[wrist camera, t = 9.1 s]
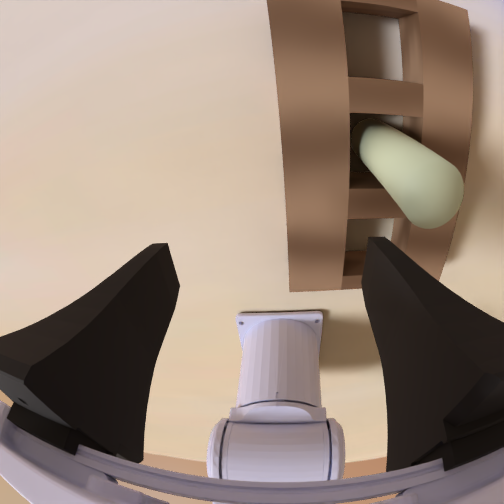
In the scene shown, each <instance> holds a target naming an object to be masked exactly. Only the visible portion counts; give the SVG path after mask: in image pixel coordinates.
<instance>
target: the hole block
mask: <svg viewBox="0 0 504 504" xmlns="http://www.w3.org/2000/svg"><path fill="white" fill-rule="evenodd" d="M267 6H268V13H269V21H270V29H271V37H272V46H273V55H274V64H275V74H276V84H277V94H278V105H279V116H280V128H281V141H282V154H283V168H284V183H285V199H286V217H287V237H288V260H289V289H290V292H303V291H325V290H344V289H360V288H362V285H361V280H362V275H363V269H364V263H365V257H366V251H367V250H364V251H345V245H346V233H347V219H368V218H394V225H393V232H392V238H391V242H392V243H393V244H394V245H396V246H397V247H398V248H399V249H400V250H402V251H403V252H404V253H405V254H406V255H407V256H409V257H410V258H411V259H412V260H413V261H415V262H416V263H417V264H418V265H419V266H420V267H422V268H423V269H424V270H425V271H426V272H428V273H429V274H430V275H431V276H433V277H434V278H435V279H437V280H438V281H439V279H440V276H441V273H442V270H443V267H444V264H445V261H446V257H447V254H448V251H449V247H450V244H451V240H452V236H453V232H454V228H455V224H456V220H457V216H458V212H459V209H458V211H457V213H456V214H455V215H454V216H453V218H452V219H450V220H449V221H448V222H447V223H445V224H444V225H442V226H439V227H437V228H432V229H424V228H420V227H418V226H416V225H414V224H413V223H412V222H410V220H409V219H408V218H407V217H406V215H405V214H404V212H403V211H402V210H401V208H400V207H399V206H398V204H397V203H396V202H395V201H394V199H393V198H392V197H391V195H390V194H389V193H388V192H387V190H386V189H385V188H384V187H383V185H382V184H381V183H380V182H379V180H378V179H377V178H376V177H375V176H374V174H373V173H372V172H350V113H374V114H390V115H402V116H403V133H404V134H406V135H407V136H409V137H411V138H412V139H414V140H416V141H417V142H419V143H421V144H422V145H424V146H425V147H427V148H429V149H430V150H432V151H433V152H435V153H436V154H438V155H439V156H441V157H442V158H444V159H445V160H447V161H448V162H450V163H451V164H452V165H454V166H455V167H456V168H457V169H458V171H459V172H460V174H461V176H462V179H463V183H464V182H465V176H466V169H467V162H468V155H469V147H470V137H471V125H472V108H473V62H472V46H471V35H470V26H469V18H468V11H467V10H466V9H463V8H460V7H457V6H454V5H452V4H449V3H445V2H442V1H439V0H267ZM342 12H350V13H361V14H370V15H377V16H384V17H391V18H396V19H398V20H399V28H400V38H401V51H402V68H403V81H397V80H388V79H378V78H365V77H348V68H347V55H346V44H345V33H344V24H343V16H342Z"/></svg>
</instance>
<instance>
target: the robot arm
mask: <svg viewBox="0 0 504 504" xmlns="http://www.w3.org/2000/svg"><path fill="white" fill-rule="evenodd" d="M361 285H362V290H363V296H364V302H365V307H366V310H367V313H368V317H369V320H370V323H371V327H372V330H373V333H374V337H375V340H376V344H377V347H378V351H379V354H380V359H381V363H382V368H383V376H384V383H385V392H386V404H387V424H388V447H387V466H386V472H385V473H379V474H374V475H368V476H361V477H354V478H346V479H342V478H343V473H344V467H345V440H344V433H343V429H342V427H341V425H340V424H339V423H338V422H337V421H336V420H335V419H334V418H328V419H326V408H325V407H323V408H322V405H321V388H320V373H319V352H320V343H321V334H322V324H323V313H322V312H320V311H307V312H280V313H239V314H237V315H236V323H237V328H238V332H239V337H240V342H241V346H242V351H243V354H242V362H241V370H240V378H239V386H238V394H237V402H236V408H231V409H230V416H229V419H228V418H222V419H221V420H220V421H219V422H218V423H217V424H216V425H215V426H214V427H213V429H212V431H211V434H210V438H209V442H208V449H207V472H208V477H202V476H195V475H189V474H183V473H178V472H172V471H168V470H163V469H158V468H154V467H150V466H146V465H142V464H138V463H140V462H141V461H143V451H144V431H145V421H146V412H147V404H148V398H149V392H150V386H151V382H152V377H153V372H154V367H155V364H156V360H157V357H158V354H159V351H160V348H161V346H162V343H163V340H164V337H165V335H166V332H167V329H168V326H169V324H170V321H171V318H172V315H173V313H174V310H175V306H176V302H177V298H178V293H179V288H180V284H179V281H178V278H177V274H176V271H175V267H174V264H173V261H172V257H171V254H170V250H169V246H168V243H157V244H152V245H150V246H148V247H147V248H145V249H144V250H143V251H141V252H140V253H139V254H137V255H136V256H135V257H134V258H132V259H131V260H130V261H128V262H127V263H126V264H125V265H123V266H122V267H121V268H120V269H118V270H117V271H116V272H115V273H113V274H112V275H111V276H109V277H108V278H107V279H105V280H104V281H103V282H101V283H100V284H99V285H97V286H96V287H95V288H94V289H92V290H91V291H89V292H88V293H86V294H85V295H83V296H82V297H80V298H79V299H77V300H76V301H74V302H73V303H71V304H70V305H68V306H66V307H64V308H63V309H61V310H59V311H57V312H55V313H54V314H52V315H50V316H48V317H47V318H45V319H43V320H40V321H38V322H36V323H34V324H32V325H30V326H28V327H25V328H23V329H21V330H18V331H15V332H13V333H10V334H7V335H4V336H2V337H0V390H1V391H2V392H3V393H5V394H6V395H7V396H8V397H9V398H10V399H11V400H12V401H13V402H14V403H13V405H12V407H10V406H8V405H7V404H5V403H4V402H2V401H0V475H1V476H2V477H3V478H4V479H5V480H6V481H7V482H8V483H9V484H10V485H11V486H12V487H13V488H14V489H15V490H16V491H17V492H18V493H20V494H21V495H22V496H23V497H24V498H25V499H26V500H28V501H29V502H30V503H31V504H169V503H168V502H166V501H162V500H159V499H156V498H153V497H150V496H148V495H145V494H143V493H141V492H138V491H135V490H133V489H129V488H127V487H124V486H121V485H118V482H117V481H116V479H117V480H120V481H124V482H127V483H130V484H133V485H136V486H140V487H144V488H147V489H151V490H155V491H159V492H164V493H167V494H172V495H177V496H182V497H187V498H193V499H198V500H205V501H212V502H213V504H336V503H344V502H352V501H359V500H365V499H371V498H377V497H382V496H387V495H391V494H396V493H398V494H397V495H396V497H395V498H392V499H388V500H384V501H380V502H375V503H371V504H504V322H502V321H500V320H498V319H496V318H494V317H492V316H490V315H488V314H487V313H485V312H483V311H482V310H480V309H478V308H477V307H475V306H473V305H472V304H470V303H469V302H467V301H465V300H464V299H463V298H461V297H460V296H458V295H457V294H455V293H454V292H452V291H451V290H450V289H448V288H447V287H446V286H444V285H443V284H442V283H440V282H439V281H438V280H437V279H435V278H434V277H433V276H431V275H430V274H429V273H428V272H426V271H425V270H424V269H423V268H422V267H420V266H419V265H418V264H417V263H416V262H415V261H413V260H412V259H411V258H410V257H409V256H407V255H406V254H405V253H404V252H403V251H402V250H400V249H399V248H398V247H397V246H396V245H394V244H393V243H392V242H391V241H389V240H388V239H387V238H385V237H368V244H367V251H366V257H365V263H364V269H363V275H362V280H361ZM317 319H319V320H317ZM241 321H242V322H241Z"/></svg>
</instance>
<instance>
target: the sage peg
mask: <svg viewBox="0 0 504 504" xmlns="http://www.w3.org/2000/svg"><path fill="white" fill-rule="evenodd" d="M350 141H351V146H352V149H353V151H354V152H355V154H356V155H357V156H358V157H359V158H360V159H361V160H362V162H363V163H364V164H365V165H366V166H367V167H368V169H369V170H370V171H371V172H372V173H373V174H374V176H375V177H376V178H377V179H378V180H379V182H380V183H381V184H382V185H383V187H384V188H385V189H386V190H387V192H388V193H389V194H390V195H391V197H392V198H393V199H394V201H395V202H396V203H397V204H398V206H399V207H400V208H401V210H402V211H403V212H404V214H405V215H406V217H407V218H408V219H409V220H410V222H412V223H413V224H414V225H416V226H418V227H420V228H424V229H432V228H437V227H439V226H442V225H444V224H445V223H447V222H448V221H449V220H450V219H452V218H453V216H454V215H455V214H456V213H457V211H458V209H459V208H460V205H461V203H462V200H463V196H464V183H463V179H462V176H461V174H460V172H459V171H458V169H457V168H456V167H455V166H454V165H452V164H451V163H450V162H448V161H447V160H445V159H444V158H442V157H441V156H439V155H438V154H436V153H435V152H433V151H432V150H430V149H429V148H427V147H425V146H424V145H422V144H421V143H419V142H417V141H416V140H414V139H412V138H411V137H409V136H407V135H406V134H404V133H402V132H400V131H399V130H397V129H395V128H393V127H391V126H390V125H388V124H386V123H384V122H382V121H380V120H378V119H373V118H369V119H365V120H362V121H360V122H359V123H358V124H357V125H356V126H355V127H354V129H353V131H352V133H351V140H350Z"/></svg>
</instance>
